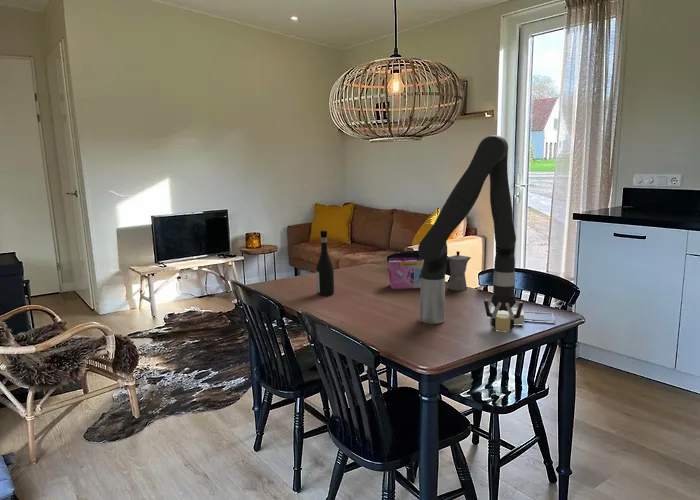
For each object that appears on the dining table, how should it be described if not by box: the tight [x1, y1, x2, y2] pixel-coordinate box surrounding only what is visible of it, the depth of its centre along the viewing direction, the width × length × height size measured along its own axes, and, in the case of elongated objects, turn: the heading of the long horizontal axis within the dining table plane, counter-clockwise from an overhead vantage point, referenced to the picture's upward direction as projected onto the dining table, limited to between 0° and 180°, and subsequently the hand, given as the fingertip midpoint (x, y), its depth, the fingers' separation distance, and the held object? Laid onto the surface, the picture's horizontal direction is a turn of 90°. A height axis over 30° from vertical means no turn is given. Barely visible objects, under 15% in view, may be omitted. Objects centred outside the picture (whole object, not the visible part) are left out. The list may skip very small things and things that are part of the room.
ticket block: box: [490, 306, 524, 325], centre depth 194 cm, size 12×10×4 cm
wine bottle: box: [315, 230, 335, 297], centre depth 236 cm, size 8×8×30 cm
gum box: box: [387, 257, 424, 290], centre depth 249 cm, size 24×8×14 cm, turn 94°
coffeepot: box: [445, 250, 472, 291], centre depth 242 cm, size 15×9×18 cm, turn 104°
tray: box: [523, 310, 556, 323], centre depth 197 cm, size 11×10×1 cm
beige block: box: [494, 314, 511, 332], centre depth 186 cm, size 5×6×5 cm
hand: (502, 327), depth 187 cm, fingers open, 5 cm apart
